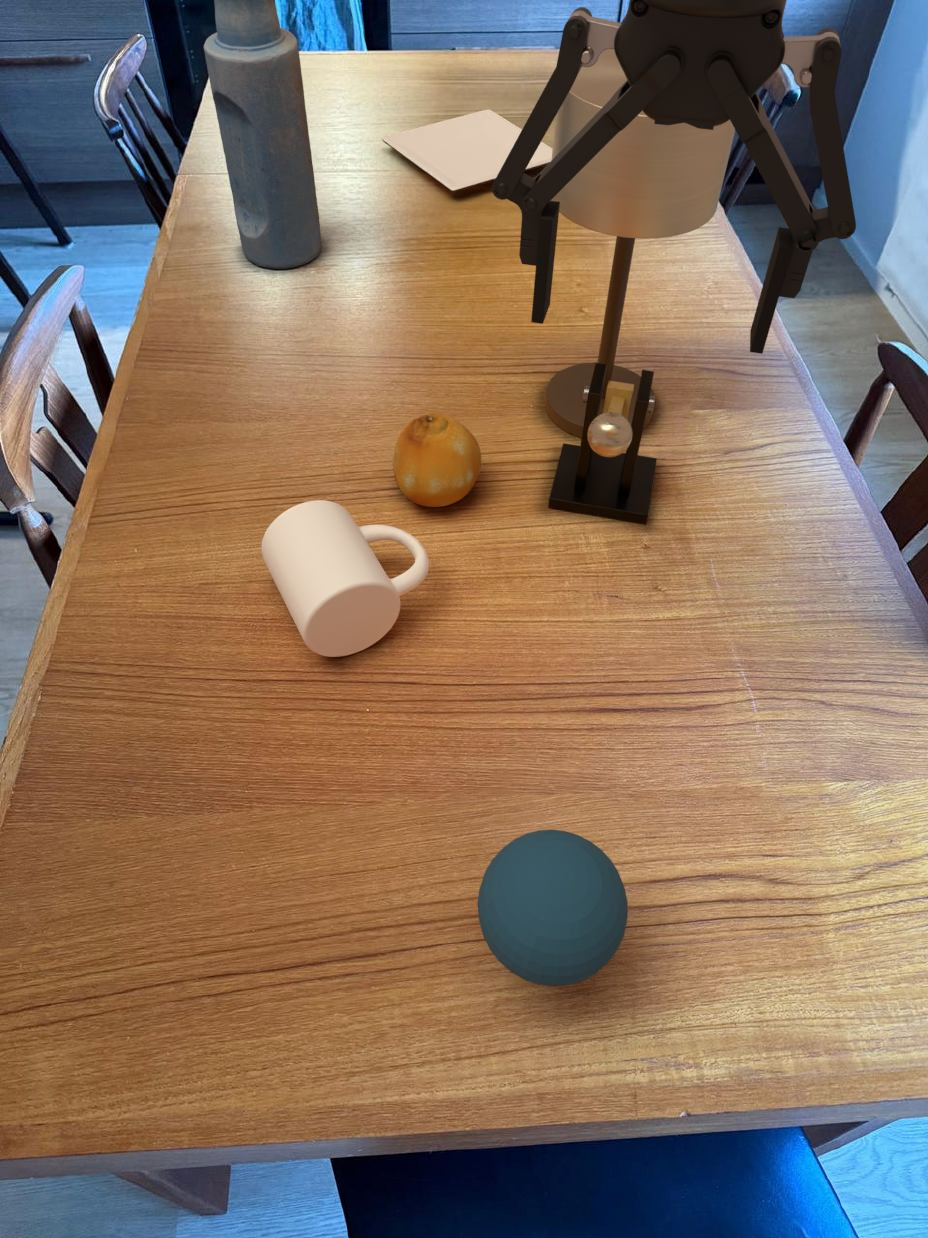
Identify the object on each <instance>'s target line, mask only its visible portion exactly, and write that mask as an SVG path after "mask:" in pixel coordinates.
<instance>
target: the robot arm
mask: <svg viewBox="0 0 928 1238" xmlns="http://www.w3.org/2000/svg"><path fill="white" fill-rule="evenodd" d="M787 1H788V0H629V3H628V7H627V8H628V9H627V11H626V14H625V15H624V17H623V19H622V21H621V22H619V21H615V20H610V19H605V18H602V17H595V16H593V15H592V12H591V10H589V9H588V8H586V7H584V6H583V7H582V6H581V7H580V6H579V7H577V8H576V9H574V10H573V12H571V14H570V15H569V18H568V19H567V21H566V22H565V24H564V26H563V29H562V30H563V31H562V35H561V40H560V44H559V51H558V56H557V60H556V66H555V67H554V70H553V71H552V73H551V76H550V77H549V79H548V81H547V83H546V85H545V87H544V89H543V90H542V92H541V94H540V96H539V98H538V100H537V101H536V103H535V105H534V106H533V109H532V110H531V113H530V114H529V116H528V118H527V120H526V122H525V123H524V125H523V127H522V128H521V129H522V131H521V133H520V135H519V136H518V138H517V140H516V142H515V144H514V146H513V148H512V149H511V151H510V153H509V155H508V157H507V159H506V160H505V162H504V164H503V166H502V168H501V170H500V172H499V173H498V175H497V177H496V179H495V181H493V183H492V185H491V191H492V194H493V196H494V197H495V198H496V199H498V200H500V201H505V200H507V201H510V202H511V203H513V204H515V205H516V206H517V207H518V208H519V210H520V212H521V226H520V240H519V252H518V253H519V255H518V256H519V259H520V262H521V265H527V266H532V267H533V266H534V267H535V273H534V284H533V297H532V307H531V309H532V310H531V321H530V322H531V323H532V324H540V325H543V324H544V322H545V319H546V316H547V313H548V310H549V309H550V305H551V298H552V297H551V295H552V288H553V276H554V266H555V258H556V257H555V255H556V247H557V246H556V245H557V237H558V236H557V235H558V227H559V214H560V213H559V206H560V202H557V201H551V200H552V199H553V198H554V197H555V196H556V195H557V194H558V193H559V192H560V191H561V189H562V188H563V187H564V186H565V185H566V184H567V183H568V182H569V181H570V180H571V179H572V178H573V177H574V176H575V175H576V174H577V173H578V172H579V171H580V170H581V169H582V168H583V167H584V166H585V165H586V164H587V163H588V162H589V161H590V160H591V159H592V158H593V157H594V156H595V155H596V154H597V153H598V152H599V151H600V150H601V149H602V148H603V147H604V146H605V145H606V144H607V143H608V142H609V141H610V140H611V139H612V138H613V137H614V136H615V135H616V134H617V133H618V132H620V131H621V130H623V129H624V128H625V127H626V126H627V125H628V124H629V123H630V122H631V121H632V120H633V119H634V118H635V117H636V116H637V115H638V114H639V113H640V112H641V111H643V112H644V113H645V114H646V115H647V116H648V117H649V118H651V119H653V120H655V122H654V124H660V125H674V124H679V123H687V124H689V125H691V126H694V127H696V128H699V129H709V130H713V128H714V126H718V125H721V124H723V123H725V122H727V121H728V120H730V121H731V123H732V124H733V126H734V128H735V133H736V134H737V136H738V138H739V139H740V141H741V142H742V144H743V145H744V146H745V147H746V150H747V151H748V153H749V155H750V157H751V159H752V160H753V162H754V165H755V166H756V168H757V170H758V172H759V174H760V176H761V178H762V180H763V182H764V184H765V185H766V188H767V189H768V191H769V193H770V195H771V197H772V199H773V201H774V202H775V205H776V206H777V208H778V211H779V212H780V214H781V216H782V218H783V220H784V222H785V224H786V225H787V227H780V226H779V227H778V228H777V229H778V230H777V233H776V237H775V240H774V244H773V247H772V251H771V254H770V258H769V262H768V265H767V269H766V272H765V276H764V279H763V284H762V287H761V291H760V295H759V298H758V302H757V305H756V309H755V312H754V315H753V316H754V317H753V320H752V324H751V327H750V331H749V333H750V334H749V353H753V354H759V355H760V354H761V355H762V354H763V353H764V349H765V346H766V343H767V340H768V336H769V333H770V329H771V325H772V322H773V320H774V319H773V318H774V315H775V312H776V308H777V306H778V302H779V298H780V297H781V298H788V299H795V298H796V297H797V296H798V294H799V293H800V292H801V290H802V286H803V283H804V280H805V276H806V273H807V270H808V266H809V264H810V260H811V257H812V254H813V251H814V250H816V249H817V247H818V245H819V243H820V242H823V241H825V240H829V239H833V238H836V239H838V240H846V239H849V238H851V237H852V235H854V234H855V232H856V229H857V223H856V215H855V210H854V203H853V197H852V191H851V186H850V179H849V173H848V167H847V162H846V161H847V160H846V155H845V150H844V143H843V138H842V131H841V125H840V120H839V112H838V107H837V101H836V95H835V91H836V85H837V80H838V76H839V75H838V74H839V70H840V69H839V68H840V63H841V58H842V46H841V41H840V36H839V33H838V32H837V30H835V29H834V28H831V27H827V28H823V29H821V30H819V31H818V32H817V34H816V35H801V36H799V35H798V36H797V35H796V36H785V35H784V32H783V31H784V30H783V18H784V13H785V9H786V4H787ZM607 49H614V51H615V55H616V57H617V59H618V61H619V63H620V66H621V68H622V70H623V72H624V74H625V76H626V78H627V81H626V82H625V83H624V84H623V85H622V86H621V87H620V88H619V89H618V90H617V91H616V93H615V94H614V95H613V96H612V98H611V99H610V100H609V101H608V102H607V103H606V104H605V105H604V106H603V108H602V109H601V110H600V111H599V112H598V113H597V114H596V115H595V116H594V117H593V118H592V119H591V120H590V121H589V122H588V123H587V124H586V125H585V126H584V127H583V128H582V129H581V130H580V132H579V133H578V134H577V135H576V136H575V137H574V138H573V139H572V140H571V141H570V142H569V143H568V144H567V145H566V146H565V147H564V148H563V149H562V150H561V151H560V152H559V153H558V154H557V155H556V157H555V158H554V159H553V160H552V161H551V162H550V163H549V164H548V165H545V166H544V168H543V169H542V170H541V171H540V172H539V173H538V174H537V175H536V176H533V177H532V176H530V175H528V174H526V173H525V172H526V171H525V169H526V167H527V166H528V164H529V162H530V160H531V159H532V157H533V155H534V153H535V151H536V150H537V148H538V146H539V144H540V143H541V142H542V141H543V139H544V137H545V136H546V134H547V132H548V130H549V128H550V127H551V125H552V123H553V121H554V120H555V116H556V114H557V112H558V111H559V109H560V107H561V105H562V104H563V102H564V100H565V98H566V96H567V95H568V93H569V91H570V89H571V87H572V85H573V83H574V81H575V79H576V77H577V75H578V73H579V71H580V69H581V67H591V66H593V65H594V64H595V63H596V62H597V60H598V58H599V56H600V54H601V53H602V52H603V51H605V50H607ZM782 65H785V66H788V67H789V68H790V69H791V70H792V73H793V80H794V83H795V84H796V85H797V86H798V87H799V88H803V89H805V88H807V93H808V102H809V110H810V116H811V121H812V127H813V133H814V139H815V144H816V149H817V155H818V161H819V166H820V171H821V176H822V177H821V178H822V183H823V188H824V193H825V199H826V204H827V206H826V207H823V208H822V207H821V208H817V209H815V207H813V205H812V202H811V201H810V199H809V196H808V195H807V193H806V190H805V189H804V186H803V185H802V183H801V181H800V178H799V176H798V175H797V172H796V170H795V168H794V167H793V165H792V163H791V161H790V159H789V157H788V155H787V153H786V151H785V148H784V147H783V145H782V143H781V142H780V139H779V136H778V135H777V133H776V131H775V129H774V127H773V125H772V123H771V121H770V119H769V118H768V115H767V113H766V112H767V111H766V110H765V107H764V104H763V103H762V100H761V99H760V97H759V95H758V93H757V92H758V91H759V90H760V89H761V88H762V87H763V86H764V85H765V84H766V83H767V82H768V80H769V79H770V78H772V77H773V76H774V75H775V74H776V72H777V71H778V70H779V68H780V67H781V66H782ZM524 171H525V172H524Z"/></svg>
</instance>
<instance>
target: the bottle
mask: <svg viewBox="0 0 928 1238" xmlns="http://www.w3.org/2000/svg"><path fill="white" fill-rule="evenodd" d="M274 1H275V0H213V3H214V17H215V18H214V19H215V29H216V32H214V33H213V34H211V35H210V36H208V37H207V38H206V40H205V41H204V44H203V51H204V57H205V58H204V59H205V63H206V67H207V75H208V79H209V85H210V90H211V95H212V100H213V103H214V107H215V108H214V109H215V112H216V113H215V114H216V119H217V123H218V128H219V134H220V139H221V143H222V149H223V153H224V159H225V164H226V165H225V166H226V170H227V175H228V181H229V186H230V190H231V195H232V201H233V208H234V214H235V215H234V216H235V219H236V226H237V229H238V234H239V240H240V243H241V245H240V246H241V250H242V253H243V255H244V256H245V258H246V259H247V260H248V261H250V262H251V263H252V264H254V265H255V266H258V267H262V268H266V269H273V270H287V269H291V268H297V267H300V266H303V265H306V264H307V263H309V262H312V261H313V260H314V259H315V258H317V256H319V254H320V253H321V251H322V245H323V241H322V233H321V223H320V213H319V206H318V197H317V189H316V181H315V171H314V164H313V156H312V149H311V140H310V134H309V125H308V116H307V109H306V100H305V92H304V91H305V90H304V81H303V73H302V67H301V66H302V65H301V58H300V51H299V44H298V39H297V37H296V36H295V35H294V34H293V33H292V32H291V31H289V30H287V29H285V28H282V27H281V24H280V19H279V16H278V12H277V7H276V4H275V2H274Z"/></svg>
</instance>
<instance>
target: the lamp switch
mask: <svg viewBox="0 0 928 1238" xmlns="http://www.w3.org/2000/svg"><path fill="white" fill-rule="evenodd" d="M633 390H634V384H628V383H621V382H615V381H609V382H608V386H607V390H606V396H605V401H604V407H603V412H602V414H601V415H599V416H597V417H596V418H595V419H594V420H593V421H592V422H591V424H590V426H589V429H588V434H587V436H588V442H589V445H590V447H591V448H592V450H593V451H594V452H595V453H597V454H598V455H600V456H603V457H616V456H618V455H620V454H622V453H625V452H626V449H627V448H628V447H629V445H630V443H631V440H632V428H631V425H630V423H629V422H628V420H627V419H628V416H629V411H630V406H631V401H632V396H633Z"/></svg>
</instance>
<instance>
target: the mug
mask: <svg viewBox="0 0 928 1238" xmlns="http://www.w3.org/2000/svg"><path fill="white" fill-rule="evenodd" d="M381 541H393V542H396V543H399V544H400V545H402V546H403V547H404V548H405V549H406V550H408V551H409V552H410V554H411V555H412V557H413V558H414V563H413V564H412V566H411V567H409V568H408V570H405V571H404V572H402V573H401V574H399V575H397V576H395V577H393V578H389V576H388V574H387V572H386V571H385V570H384V568H383V566H382V564H381V563H380V561H379V559H378V558H377V556H376V555H375V553H374V551H373V549H372V548H371V546H370V545H369V544H370V543H375V542H381ZM260 549H261V550H260V551H261V557H262V559H263V562H264V563H265V566H266V568H267V570H268V571H269V574H270V576H271V578H272V580H273V582H274V583H275V586H276V587H277V590H278V591H279V594H280V596H281V599H282V600H283V602H284V604H285V606H286V608H287V610H288V612H289V614H290V616H291V618H292V620H293V622H294V624H295V627H296V628H297V630H298V632H299V635H300V637H301V638H302V640H303V643H304V644H305V646H306V647H307V648H308V649H309V650H310V651H311V652H313V653H314V654H316V655H319V656H322V657H328V658H329V657H330V658H337V657H338V658H339V657H346V656H350V655H353V654H356V653H359V652H361V651H364V650H365V649H368V648H369V647H371V646H373V645H374V644H376V643H377V642H379V641H380V640H381V639H383V637H384V636H385V635H387V634H388V633H389V631H390V630H391V629H392V628H393V626H394V625H395V624H396V621H397V620H398V618H399V615H400V612H401V605H402V604H401V598H400V597H401V596H403V595H405V594H407V593H410V592H411V591H413V590H415V589H416V588H417V587H419V586H420V585H421V584H422V583H423V582H424V580H425V579H426V578H427V576H428V574H429V570H430V560H429V556H428V553H427V551H426V549H425V547H424V546H423V544H422V543H421V542H420V541H419V540H418V539H417V538H416V537H415V536H413V534H411V533H409V532H407V531H405V530H403V529H400V528H399V527H395V526H391V525H386V524H368V525H362V526H358V525H357V523H356V521H355V520H354V518H353V516H352V515H351V513H350V512H349V511H348V509H347V508H345V507H344V506H342V505H341V504H339V503H337V502H335V501H331V500H324V499H323V500H322V499H317V500H309V501H305V502H302V503H299V504H296V505H294V506H292V507H290V508H288V509H286V510H285V511H283V512H282V513H280V514H279V515H278V516H277V517H276V518H275V519H274V520H273V521H272V522H271V523H270V524H269V526H268V527H267V528H266V530H265V533H264V534H263V537H262V539H261V545H260Z"/></svg>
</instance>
